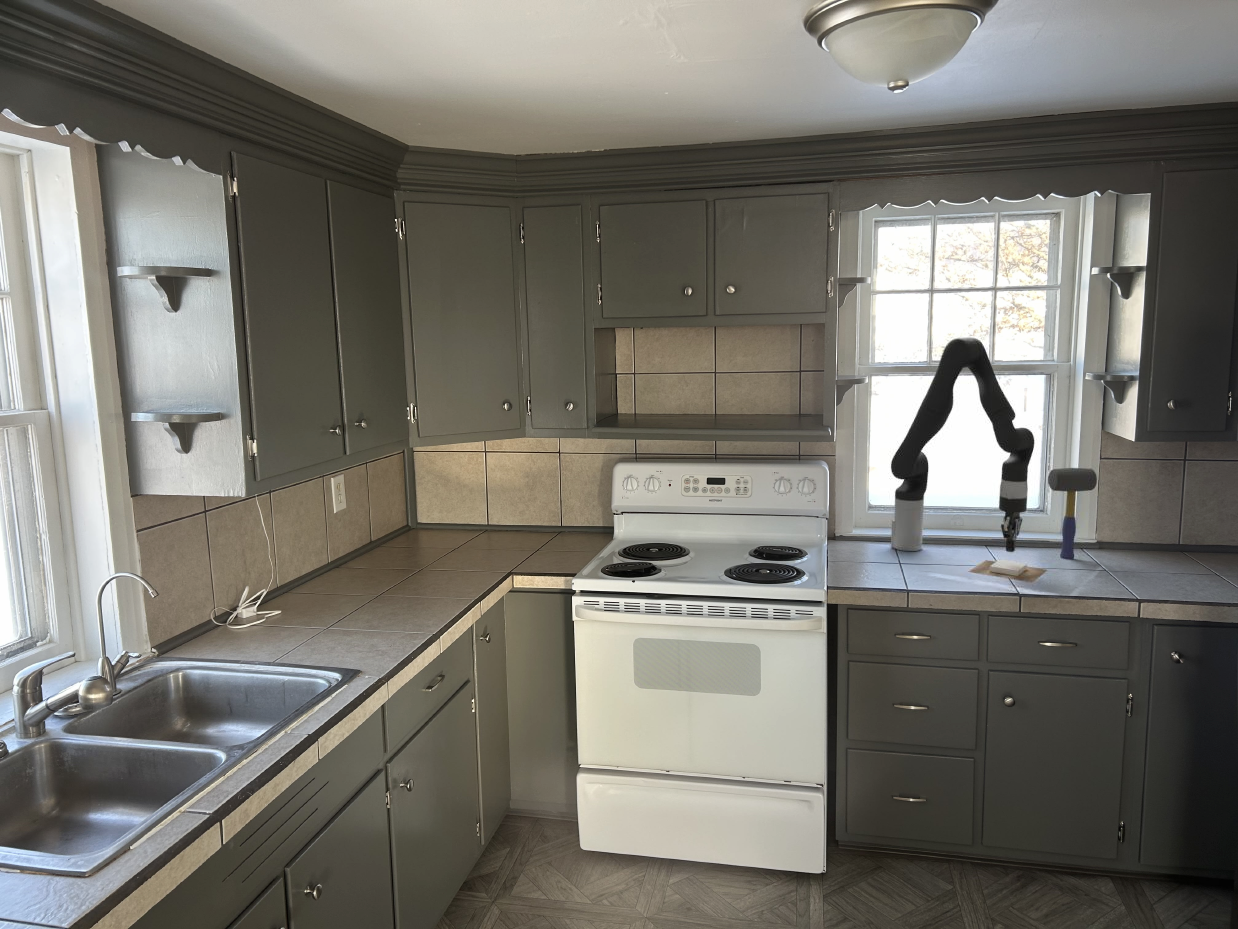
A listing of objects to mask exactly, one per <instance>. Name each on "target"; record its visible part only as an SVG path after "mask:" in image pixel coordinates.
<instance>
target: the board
mask: <svg viewBox="0 0 1238 929" xmlns="http://www.w3.org/2000/svg"><path fill="white" fill-rule="evenodd" d="M995 562H996V560H995V561H994V560H988V559H986V560H984V561H983V562H981V563H979V564H978V565H977V566H975V567H973V568H972V569H970V570H969V571H968V572H969V573H974V574H979V575H986V576H993V577H999V578H1004V579H1010V580H1014V581H1015V580H1017V581H1021V582H1028V583H1034V582H1035V581H1036V580H1037V579H1039V578H1040V577H1041V576H1043V575H1045V573H1046V572H1047V571H1048V569H1046V568H1045V569H1044V568H1039V567H1033V566H1032V567H1031V566H1027V569H1026V570H1025V571H1024V572H1022V573H1021V574H1020V575H1018V576H1015V575H1008V574H1002V573H996V572H991V571H990V566H991V565H992V564H994V563H995Z"/></svg>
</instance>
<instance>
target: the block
mask: <svg viewBox="0 0 1238 929" xmlns="http://www.w3.org/2000/svg"><path fill="white" fill-rule="evenodd" d="M1027 567H1028V563H1022V562H1018V561H1012V560H1011V561H1010V560H1003V559H998V560H996V561H995V563H994V564H992V565H991V566H990V571H991V572H996V573H1002V574H1008V575H1015V576H1018V575H1020V574H1021V573H1022V572H1024V571H1025V570H1026V569H1027Z"/></svg>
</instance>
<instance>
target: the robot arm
mask: <svg viewBox="0 0 1238 929" xmlns="http://www.w3.org/2000/svg"><path fill="white" fill-rule="evenodd" d="M986 350H987V349H986V348H985V345H984V344H983V343H982V341H981V340H979V339H978V338H976V337H957V338H953V339H951V340H949V342H947V344H945V347H944V348H943V351H942V354H941V357H940V360H939V363H938V365H937V369H936V370H935V374H934V376H933V379H932V381H931V383H930V385H929V386H928V389H927V392H926V394H925V396H924V398H923V399H922V402H921V404H920V406H919V407H918V410H917V412H916V414H915V417H914V419H913V421H912V423H911V425H910V427H909V429H908V431H907V433H906V436H905V437H904V439H903V441H902V442H901V444H900V445H899V446H898V447H897V448H898V449H897V450H896V452H895V453H894V455H893V457H892V459H891V462H890V470H891V474H892V476H894V478H896V479H899V480H903V482H902V483H901V484H900V486H898V487H897V488H896V489H895V491H894V513H893V514H894V516H893V519H892V520H891V532H890V534H891V538H890V541H891V542H890V548H891V549H896V550H898V551H903V552H916V551H921V550H922V549H923V530H924V529H923V528H924V505H925V504H924V502H925V493H926V492H927V490H928V489H927V488H928V479H929V460H928V458H927V455H926V454H925V453H924V451H923V449H924V448H925V447H926V445H927V444H928V443H929V442H930V441H931V440H932V439H933V438H934V437H935V436H936V435H937V434H938V433H939V432H940V431H941V430H942V429H943V427H944V426H945V424H946V422H947V421H948V418H949V417H950V415H951V412H952V410H953V407H954V386H955V384H956V381H957V379H958V377H959V375H960V373H961V372H962V371H963V369H964V368H968V370H969V371H970V372H971V373H972V376H974V379H975V380H976V383H977V386H978V394H979V400H980V403H981V407H982V409H983V411H984V412H985V414H986V417H988V419H989V421H990V423H991V424H992V429H993V432H994V436H995V440H996V443H997V445H998V446H999V448H1001V450H1002V451H1004V452H1005V453H1008V454H1009V455H1008V458H1007V459H1006V460H1005V461H1003V462H1002V466H1001V479H1000V481H1001V482H1000V484H999V485H1000V486H999V501H998V509H999V510H1000V511H1001V512H1004V513H1005V514H1004V516H1003V518H1002V519H1003V520H1002V522H1003V523H1002V524H1000V528H1001V532H1002V533H1001V534H1002V537H1003V539H1005V551H1006V552H1008V553H1013V552H1015V551H1016V540H1017V539H1018V536H1019V535H1020V531H1021V527H1022V523H1023V518H1022V517H1021V513H1026V511H1027V507H1028V506H1027V505H1028V492H1029V491H1028V488H1029V487H1028V474H1029V473H1028V471H1029V464H1030V462H1031V458H1032V456H1033V452H1034V449H1035V448H1034V447H1035V436H1034V434H1033V432H1032V431H1031V430H1030V429H1028V428H1027V427H1018V428H1015V425H1014V422H1013V421H1014V420H1015V419H1016V412H1015V410H1014V408H1013V407H1012V405H1011V404H1010V402H1009V400H1008V398H1007V397H1006V395H1005V393H1004V391H1003V390H1002V387H1001V386H1000V383H999V382H998V379H997V377H996V374H995V370H994V369H993V367H992V363H991V361H990V357H989V355H988V352H987V351H986ZM922 451H923V452H922Z"/></svg>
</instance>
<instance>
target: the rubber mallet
mask: <svg viewBox="0 0 1238 929" xmlns="http://www.w3.org/2000/svg"><path fill="white" fill-rule="evenodd" d="M1047 478H1048V479H1047V481H1048V486H1049V488H1050V489H1051V491H1053V492H1054V491H1055V492H1066V501H1065V502H1066V503H1065V515H1064V517H1063V521H1062V527H1061V528H1062V530H1061V533H1062V534H1061V535H1062V543H1061V545H1062V546H1061V550H1060V554H1059V556H1060V559H1063V560H1065V559H1066V560H1074V559H1075V552H1074V550H1075V549H1074V547H1075V546H1074V545H1075V537H1076V531H1077V529H1076V528H1077V521H1076V514H1075V513H1076V512H1075V511H1076V498H1077V497H1076V494H1077V492H1088V491H1094V489H1095V488H1096V486H1097V483H1098V476H1097V473H1096V472H1095V471H1094V469H1092V468H1086V467H1085V468H1084V467H1083V468H1082V467H1061V468H1053V469H1052V470H1050V471H1049V473H1048V477H1047Z"/></svg>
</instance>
